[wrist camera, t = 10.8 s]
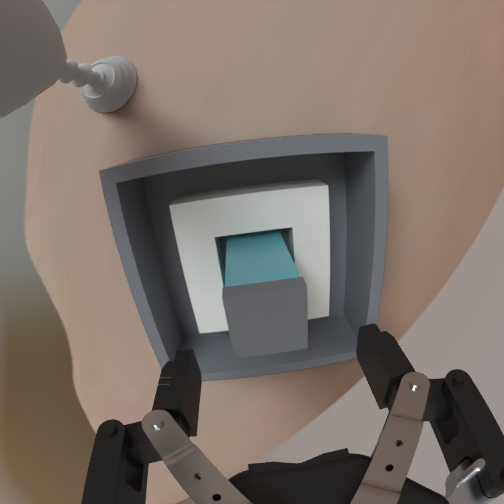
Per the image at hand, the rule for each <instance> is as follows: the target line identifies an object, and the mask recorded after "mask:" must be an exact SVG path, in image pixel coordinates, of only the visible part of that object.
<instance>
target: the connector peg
mask: <svg viewBox="0 0 504 504" xmlns="http://www.w3.org/2000/svg"><path fill="white" fill-rule="evenodd" d="M222 300H223V305H224V310H225V315H226V320H227V324H228V329H229V334H230V339H231V343H232V348H233V352H234V357H235V358H244V357H252V356H260V355H267V354H274V353H281V352H287V351H294V350H300V349H306V348H308V304H307V285H306V283H305V280H304V278H303V277H300V275H299V273H298V271H297V269H296V266H295V264H294V262H293V260H292V258H291V255H290V253H289V251H288V249H287V247H286V244H285V242H284V240H283V238H282V236H281V233H280V231H279V229H274V230H266V231H258V232H250V233H243V234H235V235H228V236H227V245H226V269H225V287H223V289H222Z"/></svg>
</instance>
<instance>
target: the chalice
mask: <svg viewBox="0 0 504 504" xmlns="http://www.w3.org/2000/svg"><path fill="white" fill-rule="evenodd" d="M66 58H67V55H66V50H65V47H64V44H63V40H62V37H61V33H60V30H59V27H58V26H57V24H56V22H55V20H54V19H53V17H52V15H51V13H50V12H49V10H48V8H47V7H46V5H45V4H44V2H43V1H42V0H0V118H2V117H4V116H6V115H8V114H9V113H11V112H13V111H15V110H16V109H18V108H20V107H22V106H24V105H25V104H27V103H28V102H30V101H31V100H32V99H34V98H35V97H36V96H38V95H39V94H41V93H42V92H43V91H45V90H46V89H48V88H49V87H51V86H52V85H54V84H55V83H56V81H57V80H58V79H59V80H60V81H61V82H62V83H69V82H71V81H72V83H73V85H74V86H75V87H80V90H81V94H82V96H83V98H84V99H85V101H86V103H87V104H88V106H89V107H90V108H91V109H93V110H95V111H96V112H101V113H107V112H113V111H115V110H117V109H119V108H121V107H122V106H123V105H124V104H125V103H127V102H128V100H129V99H130V97H131V96H132V95H133V93H134V90H135V87H136V84H137V73H136V69H135V67H134V65H133V64H132V63H131V61H130V60H128V59H126V58H124V57H121V56H112V57H107V58H105V59H101V60H98V61H96V62H95V63H93V64H91V65H89V64H88V63H82V64H80V65H78V63H77V62H76V61H75V60H74V59H69V60H67V61H66Z"/></svg>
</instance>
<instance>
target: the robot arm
mask: <svg viewBox="0 0 504 504" xmlns="http://www.w3.org/2000/svg"><path fill="white" fill-rule="evenodd" d="M356 355H357V359H358V362H359V364H360V366H361V368H362V370H363V373H364V375H365V377H366V379H367V381H368V384H369V386H370V388H371V390H372V393H373V395H374V397H375V399H376V402H377V404H378V406H379V409H383V408H386V407H387V408H388V410H389V414H388V416H387V419H386V421H385V424H384V427H383V429H382V432H381V434H380V437H379V439H378V441H377V444H376V446H375V448H374V450H373V452H372V454H371V457H369V456H365V455H361V454H352V453H351V454H349V452H348V449H347V448H345V449H341V450H337V451H333V452H328V453H324V454H322V455H319V456H317V457H314V458H312V459H310V460H307V461H305V462H302V463H297V464H296V463H283V462H266V463H255V464H248V468H249V470H246V471H243V472H241V473H238V474H236V475H235V476H233V477H231V478H230V479H229V480H227V479H226V478H225V477H224V476H223V475H222V473H221V472H220V471H219V470H218V469H217V468H216V467H215V466H214V465H213V464H212V463H211V462H210V461H209V459H208V458H207V457H206V456H205V455H204V454H203V453H202V451H201V450H200V449H199V448H198V447H197V446H196V445H194V444H193V443H192V442H191V440H190V439H189V436H197V425H198V414H199V403H200V393H201V383H202V378H201V371H200V368H199V365H198V362H197V359H196V356H195V353H194V351H193V349H186V350H177V351H176V355H175V360H174V361H167V363H166V364H165V365H164V367H163V368H162V371H161V375H160V379H159V383H158V387H157V391H156V395H155V399H154V404H153V408H152V411H151V412H149V413H147V414H146V415H145V416H144V418H143V420H142V421H140V422H136V423H132V424H127V425H123V424H122V423H121V422H120V421H118V420H114V419H112V420H107V421H105V422H103V423H102V424H101V425H100V426H99V428H98V430H97V434H96V438H95V442H94V446H93V450H92V454H91V459H90V463H89V467H88V472H87V477H86V482H85V487H84V492H83V498H82V504H145V502H146V488H147V476H148V466H149V463H153V462H157V461H162V460H163V461H164V463H165V465H166V466H167V468H168V469H169V471H170V472H171V473H172V475H173V476H174V477H175V479H176V480H177V481H178V483H179V484H180V485H181V487H182V488H183V489H184V490H185V492H186V493H187V494H188V495H189V497H190V498H191V499H192V500H193V501H194V503H196V504H488V503H489V502H491V501H492V500H494V499H495V498H497V497H498V496H500V495H501V494H503V493H504V435H503V433H502V431H501V429H500V427H499V425H498V424H497V422H496V420H495V418H494V416H493V414H492V413H491V411H490V409H489V407H488V406H487V404H486V402H485V400H484V399H483V397H482V395H481V394H480V392H479V390H478V389H477V387H476V386H475V384H474V382H473V381H472V379H471V378H470V376H469V375H468V374H467V373H466V372H465V371H462V370H458V369H456V370H452V371H450V372H449V373H448V374H447V375H446V377H445V378H441V379H428V378H427V377H426V376H425V375H424V374H422V373H419V372H416V371H415V370H414V368H413V367H412V365H411V363H410V362H409V360H408V359H407V357H406V356H405V354H404V352H403V351H402V349H401V348H400V346H399V345H398V343H397V341H396V340H395V338H394V337H393V336H392V335H390V334H389V333H388V332H386V331H384V332H380V330H379V328H378V327H377V325H376V324H375V323H373V324H368V325H364V326H360V327H359V332H358V340H357V347H356ZM423 421H429V422H430V424H431V426H432V428H433V431H434V433H435V435H436V438H437V440H438V443H439V445H440V447H441V450H442V453H443V455H444V458H445V460H446V463H447V466H448V468H449V471H450V474H449V475H448V477H447V479H446V482H445V486H446V494H445V497H444V496H442V495H440V494H439V493H436V492H434V491H432V490H430V489H428V488H426V487H424V486H422V485H420V484H418V483H416V482H415V481H413V480H411V479H409V478H407V477H406V476H407V474H408V471H409V468H410V465H411V463H412V460H413V457H414V454H415V451H416V448H417V444H418V441H419V438H420V434H421V430H422V427H423Z"/></svg>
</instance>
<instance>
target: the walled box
mask: <svg viewBox="0 0 504 504" xmlns="http://www.w3.org/2000/svg"><path fill="white" fill-rule="evenodd" d="M99 173H100V179H101V183H102V188H103V193H104V197H105V202H106V206H107V210H108V214H109V218H110V222H111V226H112V230H113V234H114V238H115V241H116V245H117V248H118V252H119V255H120V258H121V262H122V265H123V268H124V271H125V275H126V278H127V281H128V284H129V287H130V290H131V293H132V296H133V298H134V301H135V304H136V307H137V310H138V312H139V315H140V318H141V320H142V323H143V326H144V328H145V331H146V333H147V336H148V338H149V341H150V343H151V346H152V348H153V350H154V353H155V355H156V357H157V360H158V362H159V364H160V366H161V369H162V368H163V367H164V365H165V364H166V363H167V361H174V360H175V355H176V351H177V350H186V349H193V351H194V353H195V356H196V359H197V362H198V365H199V368H200V371H201V378H202V381H216V380H228V379H238V378H247V377H256V376H263V375H271V374H278V373H284V372H291V371H297V370H303V369H308V368H314V367H319V366H324V365H329V364H334V363H338V362H343V361H347V360H352V359H356V358H357V355H356V347H357V340H358V332H359V327H360V326H364V325H368V324H373V323H375V324H376V325H377V320H378V314H379V307H380V300H381V292H382V284H383V275H384V265H385V254H386V241H387V223H388V143H387V136H383V135H370V134H354V133H343V134H315V135H297V136H284V137H272V138H262V139H253V140H244V141H236V142H228V143H221V144H214V145H208V146H201V147H195V148H189V149H184V150H178V151H173V152H168V153H163V154H158V155H153V156H149V157H144V158H140V159H135V160H131V161H128V162H124V163H121V164H118V165H115V166H112V167H109V168H106V169H103V170H101V171H99ZM274 229H279V231H280V233H281V236H282V238H283V240H284V242H285V244H286V247H287V249H288V251H289V253H290V255H291V258H292V260H293V262H294V264H295V266H296V269H297V271H298V273H299V275H300V277H303V278H304V280H305V283H306V285H307V304H308V348H306V349H300V350H294V351H287V352H281V353H274V354H267V355H260V356H252V357H244V358H235V357H234V352H233V348H232V343H231V339H230V334H229V329H228V324H227V320H226V315H225V310H224V305H223V300H222V289H223V287H225V269H226V245H227V236H228V235H235V234H243V233H250V232H258V231H266V230H274Z"/></svg>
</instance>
